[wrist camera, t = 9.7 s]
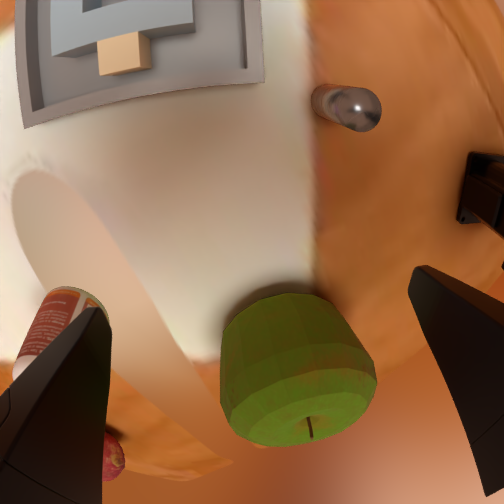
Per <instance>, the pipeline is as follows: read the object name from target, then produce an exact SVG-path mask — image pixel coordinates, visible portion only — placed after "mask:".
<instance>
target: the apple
mask: <svg viewBox="0 0 504 504" xmlns="http://www.w3.org/2000/svg"><path fill="white" fill-rule="evenodd" d="M376 386H377V378H376V373H375V367H374V362H373V360H372V359H371V357H370V356H369V354H368V353H367V351H366V350H365V348H364V347H363V345H362V344H361V342H360V341H359V339H358V338H357V336H356V335H355V333H354V332H353V330H352V329H351V327H350V326H349V324H348V323H347V322H346V320H345V319H344V318H343V316H342V315H341V314H340V312H339V311H338V310H337V309H336V308H335V306H334V305H333V304H332V303H330V302H328V301H326V300H324V299H322V298H319V297H317V296H315V295H311V294H298V293H284V294H280V295H276V296H272V297H268V298H264V299H260V300H258V301H257V302H255V303H254V304H252V305H251V306H249V307H248V308H246V309H245V310H243V311H242V312H240V313H239V314H237V315H236V317H235V318H234V319H233V320H232V321H231V323H230V324H229V325H228V326H227V328H226V329H225V330H224V331H223V338H222V344H221V359H220V403H221V406H222V408H223V411H224V413H225V416H226V418H227V421H228V423H229V425H230V426H231V427H232V429H233V430H234V431H235V433H236V434H237V435H239V436H241V437H243V438H245V439H247V440H249V441H251V442H253V443H257V444H260V445H264V446H276V447H287V446H293V445H300V444H305V443H309V442H313V441H317V440H321V439H325V438H327V437H330V436H332V435H335V434H337V433H339V432H342V431H343V430H345V429H346V428H348V427H349V426H350V425H352V424H353V423H354V422H356V421H357V420H358V419H359V418H360V417H361V416H362V414H364V413H365V411H366V410H367V408H368V406H369V404H370V402H371V400H372V398H373V397H374V393H375V389H376Z"/></svg>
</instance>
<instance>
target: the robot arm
mask: <svg viewBox="0 0 504 504" xmlns="http://www.w3.org/2000/svg"><path fill="white" fill-rule="evenodd" d="M457 221H458V222H459V223H460V224H469V223H479V222H482V223H484V224H485V225H486V226H487V227H489V228H490V229H491V230H493V231H494V232H495V233H496V234H498V235H499V236H500V237H501V238H502V239H504V156H502V155H495V154H488V153H481V152H471V153H470V155H469V159H468V165H467V171H466V177H465V182H464V187H463V192H462V197H461V202H460V206H459V211H458V215H457ZM501 267H502V269H503V270H504V262H503V264H502V266H501ZM408 295H409V298H410V300H411V303H412V305H413V308H414V310H415V313H416V315H417V318H418V320H419V323H420V326H421V328H422V331H423V333H424V336H425V338H426V340H427V342H428V344H429V347H430V349H431V351H432V353H433V355H434V357H435V359H436V361H437V364H438V366H439V368H440V370H441V372H442V375H443V377H444V379H445V382H446V384H447V386H448V388H449V391H450V393H451V396H452V398H453V401H454V403H455V406H456V408H457V410H458V413H459V416H460V419H461V421H462V424H463V426H464V429H465V432H466V435H467V438H468V440H469V443H470V447H471V449H472V453H473V456H474V459H475V462H476V465H477V468H478V472H479V475H480V479H481V483H482V486H483V490H484V493H485V496H486V497H487V496H489V495H491V494H493V493H495V492H497V491H499V490H500V489H502V488H504V303H502V302H500V301H498V300H497V299H495V298H493V297H490V296H489V295H487V294H485V293H483V292H481V291H479V290H477V289H475V288H473V287H471V286H469V285H467V284H465V283H463V282H461V281H459V280H457V279H455V278H453V277H451V276H449V275H447V274H445V273H443V272H441V271H439V270H437V269H434V268H432V267H430V266H428V265H422V266H417V267H415V268H414V270H413V273H412V277H411V280H410V283H409V287H408ZM111 346H112V330H111V327H110V325H109V322H108V320H107V318H106V316H105V314H104V311H103V310H102V308H101V307H99V306H94V307H87V308H85V309H84V310H83V311H82V312H81V313H80V314H79V315H78V316H77V317H76V318H75V319H74V320H73V321H72V322H71V323H70V324H69V325H68V326H67V327H66V328H65V329H64V330H63V331H62V332H61V333H60V334H59V335H58V336H57V337H56V338H55V339H54V340H53V341H52V342H51V343H50V344H49V345H48V346H47V347H46V348H45V349H44V350H43V351H42V352H41V353H40V354H39V355H38V356H37V357H36V358H35V359H34V360H33V361H32V362H31V363H30V364H29V365H28V366H27V367H26V369H25V370H24V371H23V372H22V373H21V374H20V375H19V376H18V377H17V378H16V379H15V380H14V381H13V383H12V384H11V385H10V388H7V389H6V390H5V391H4V393H3V394H2V395H1V396H0V504H102V473H103V451H104V437H105V425H106V414H107V405H108V396H109V388H110V372H111Z"/></svg>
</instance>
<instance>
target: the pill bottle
mask: <svg viewBox="0 0 504 504" xmlns="http://www.w3.org/2000/svg"><path fill="white" fill-rule="evenodd" d="M94 306H99V307H101V308H102V310H103V311H104V314H105V316H106V318H107V320H108V322H109V317H108V314H107V312H106V310H105V308H104V307H103V305H102V304H101V303H100V301H99V300H98V299H97V298H95V297H94V296H93V295H91V294H89V293H88V292H86V291H84V290H81V289H79V288H75V287H59V288H55V289H53V290H52V291H50V292H49V293H48V294H47V296H46V297H45V299H44V300H43V302H42V304H41V306H40V308H39V310H38V312H37V314H36V317H35V319H34V321H33V323H32V325H31V327H30V329H29V331H28V333H27V336H26V338H25V340H24V342H23V345H22V347H21V349H20V352H19V354H18V356H17V359H16V361H15V365H14V368H13V380H15V379H16V378H17V377H18V376H19V375H20V374H21V373H22V372H23V371H24V370H25V369H26V367H27V366H28V365H29V364H30V363H31V362H32V361H33V360H34V359H35V358H36V357H37V356H38V355H39V354H40V353H41V352H42V351H43V350H44V349H45V348H46V347H47V346H48V345H49V344H50V343H51V342H52V341H53V340H54V339H55V338H56V337H57V336H58V335H59V334H60V333H61V332H62V331H63V330H64V329H65V328H66V327H67V326H68V325H69V324H70V323H71V322H72V321H73V320H74V319H75V318H76V317H77V316H78V315H79V314H80V313H81V312H82V311H83V310H84V309H85V308H87V307H94Z"/></svg>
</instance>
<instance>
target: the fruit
mask: <svg viewBox="0 0 504 504" xmlns="http://www.w3.org/2000/svg"><path fill="white" fill-rule="evenodd" d="M124 468H125V458H124V453H123V450H122V447H121V446H120V444H119V443H118V441H117V440H116V439H115V438H114V437H113V436H112V435H110V434H109V433H107V432H105V437H104V451H103V473H102V481H111V480H113V479H114V478H116V477H117V476H118V475H119V474H120V473H121V471H122V470H123V469H124Z"/></svg>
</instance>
